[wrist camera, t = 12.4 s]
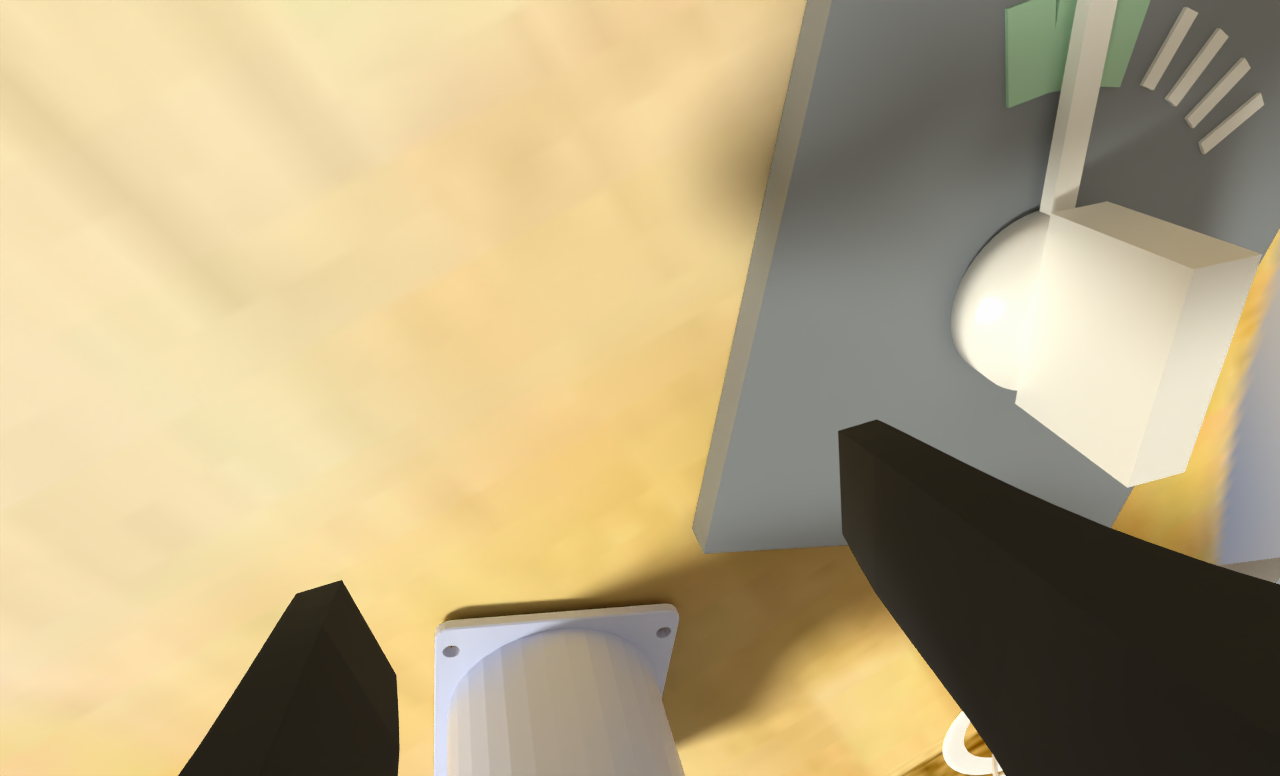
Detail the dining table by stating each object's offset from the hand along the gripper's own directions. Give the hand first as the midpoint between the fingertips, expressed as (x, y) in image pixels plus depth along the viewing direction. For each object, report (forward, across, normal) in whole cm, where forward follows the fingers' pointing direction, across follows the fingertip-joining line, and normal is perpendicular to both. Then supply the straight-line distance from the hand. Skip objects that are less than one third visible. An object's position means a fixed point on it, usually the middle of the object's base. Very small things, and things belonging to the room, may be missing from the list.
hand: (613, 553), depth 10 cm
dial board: (+9, -13, +3) cm, 16 cm away
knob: (+8, -13, 0) cm, 16 cm away
